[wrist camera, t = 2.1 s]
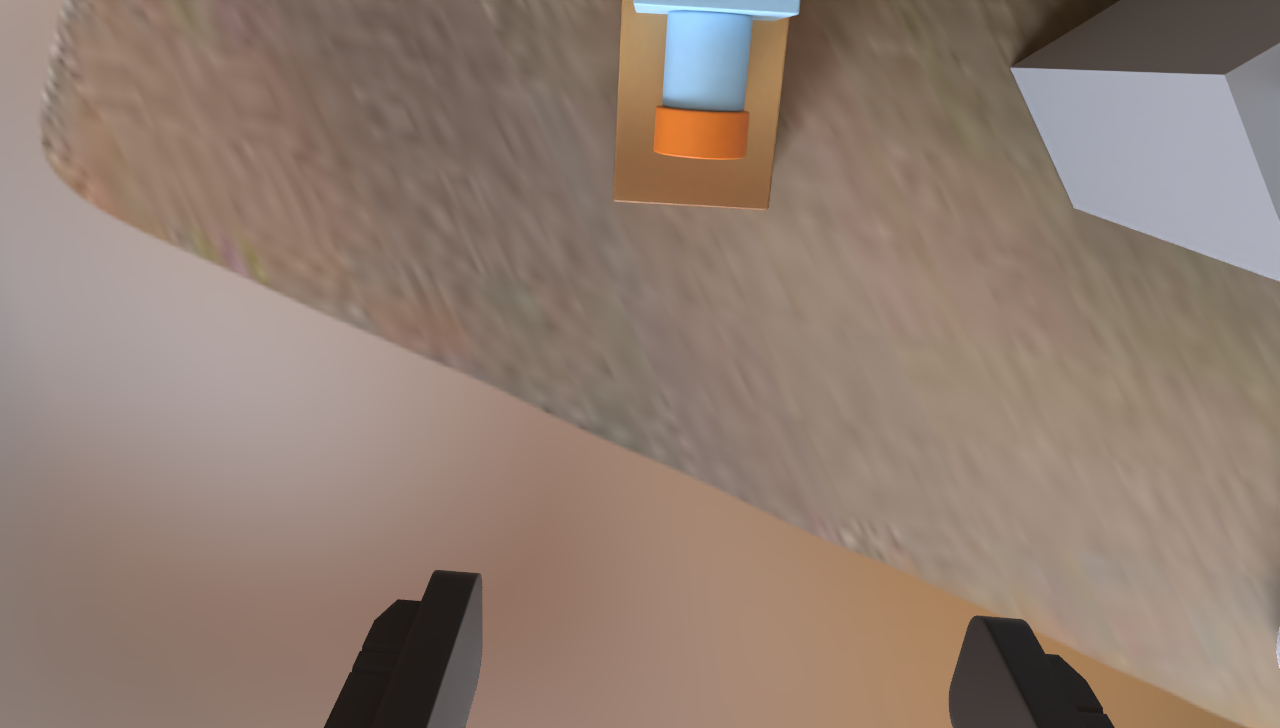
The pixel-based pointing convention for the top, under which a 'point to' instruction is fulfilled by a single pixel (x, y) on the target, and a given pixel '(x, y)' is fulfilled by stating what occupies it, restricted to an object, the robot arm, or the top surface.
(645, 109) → the wooden board
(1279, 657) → the pump dispenser
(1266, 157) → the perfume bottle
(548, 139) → the top surface
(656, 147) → the light blue bottle
